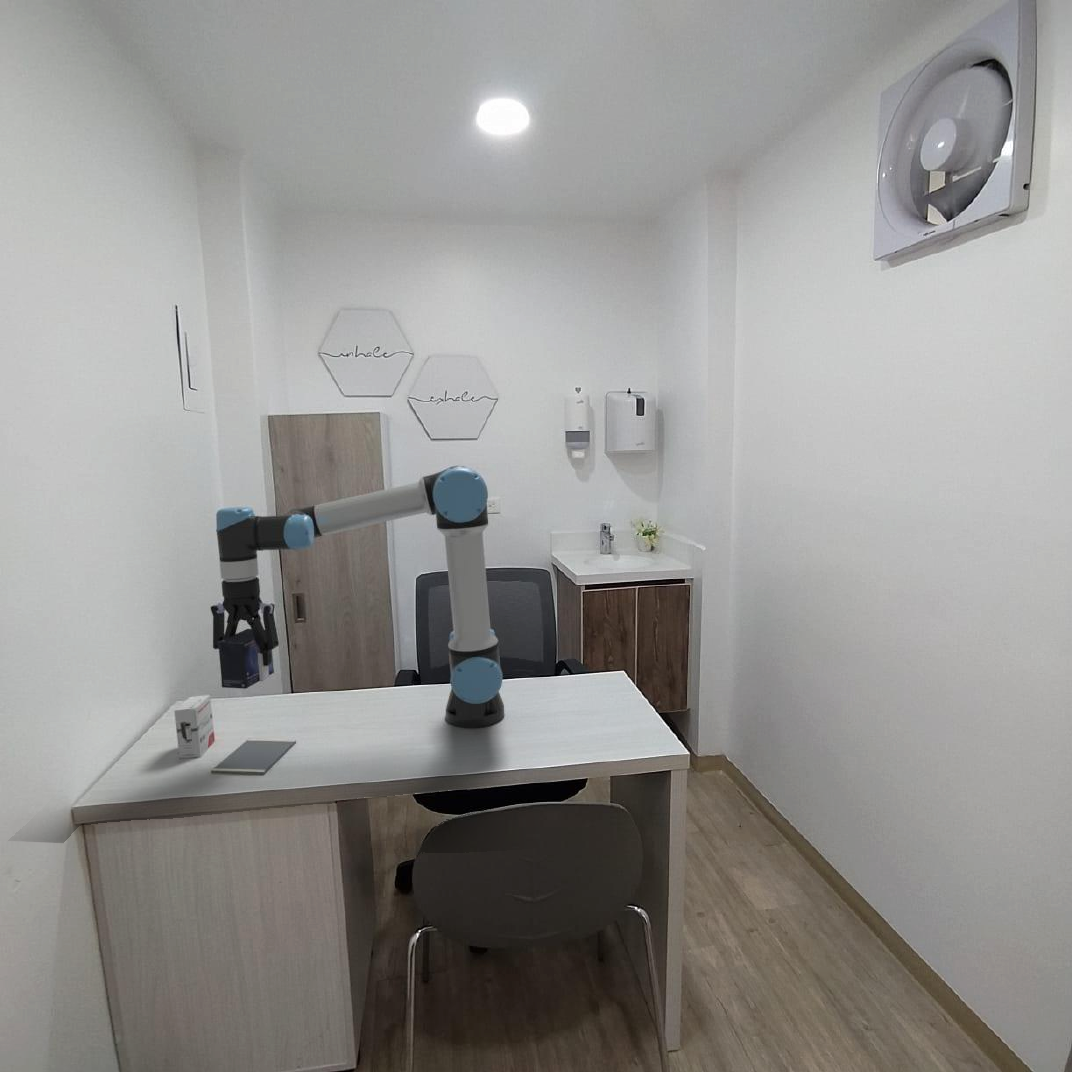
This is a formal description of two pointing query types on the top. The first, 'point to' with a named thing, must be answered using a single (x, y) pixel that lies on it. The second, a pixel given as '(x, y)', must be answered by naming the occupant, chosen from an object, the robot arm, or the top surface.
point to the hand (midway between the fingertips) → (248, 678)
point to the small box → (240, 660)
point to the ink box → (194, 726)
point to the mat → (254, 757)
